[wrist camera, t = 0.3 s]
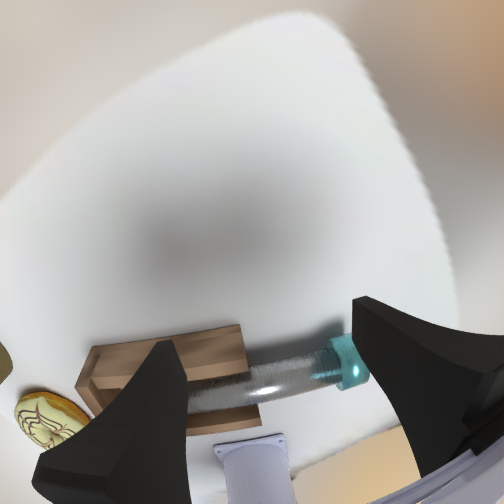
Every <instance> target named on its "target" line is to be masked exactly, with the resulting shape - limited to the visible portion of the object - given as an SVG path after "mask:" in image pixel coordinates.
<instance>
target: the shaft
mask: <svg viewBox="0 0 504 504" xmlns="http://www.w3.org/2000/svg"><path fill="white" fill-rule="evenodd" d="M248 368H249V371H246V372H241V373H236V374H230V375H225V376H219V377H213V378H206V379H200V380H193V381H187V384H188V413H187V415H188V414H197V413H205V412H212V411H219V410H225V409H231V408H237V407H243V406H248V405H253V404H258V403H263V402H268V401H273V400H277V399H282V398H286V397H290V396H294V395H298V394H302V393H306V392H309V391H313V390H317V389H320V388H324V387H327V386H331V385H334V384H336V386H337V388H338V389H339V390H341V391H343V390H346V389H349V388H352V387H355V386H358V385H361V384H364V383H366V382H367V381H368V380H369V376H370V371H369V369H368V368H367V366H366V365H365V363H364V362H363V360H362V359H361V357H360V355H359V353H358V351H357V349H356V347H355V345H354V343H353V341H352V332H351V333H348V334H345V335H341V336H338V337H334V338H330V339H328V341H327V344H326V349H323V350H319V351H315V352H312V353H308V354H304V355H300V356H296V357H292V358H288V359H283V360H279V361H275V362H270V363H265V364H261V365H256V366H251V367H248Z"/></svg>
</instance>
